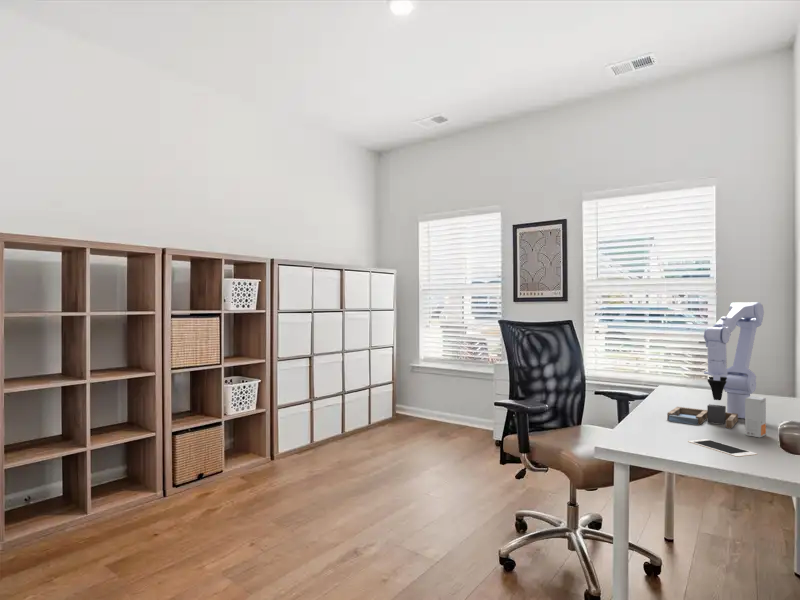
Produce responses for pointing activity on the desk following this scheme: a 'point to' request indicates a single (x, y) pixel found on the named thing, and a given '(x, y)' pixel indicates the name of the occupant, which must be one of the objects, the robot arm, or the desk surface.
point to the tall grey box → (716, 414)
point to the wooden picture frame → (697, 416)
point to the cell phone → (722, 447)
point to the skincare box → (755, 416)
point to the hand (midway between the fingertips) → (717, 398)
